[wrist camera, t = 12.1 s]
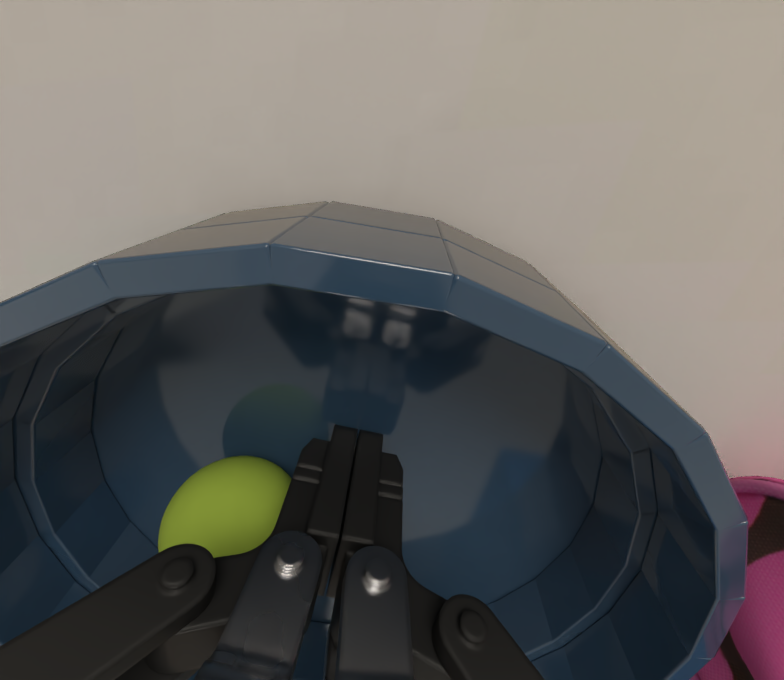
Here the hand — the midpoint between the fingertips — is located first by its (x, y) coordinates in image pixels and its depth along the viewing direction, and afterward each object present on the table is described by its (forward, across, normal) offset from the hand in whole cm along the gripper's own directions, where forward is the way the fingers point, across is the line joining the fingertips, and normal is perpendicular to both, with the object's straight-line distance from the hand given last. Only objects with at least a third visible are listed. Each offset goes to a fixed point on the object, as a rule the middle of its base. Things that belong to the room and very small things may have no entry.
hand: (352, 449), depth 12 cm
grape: (-1, +3, +3) cm, 4 cm away
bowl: (+1, 0, +3) cm, 3 cm away
